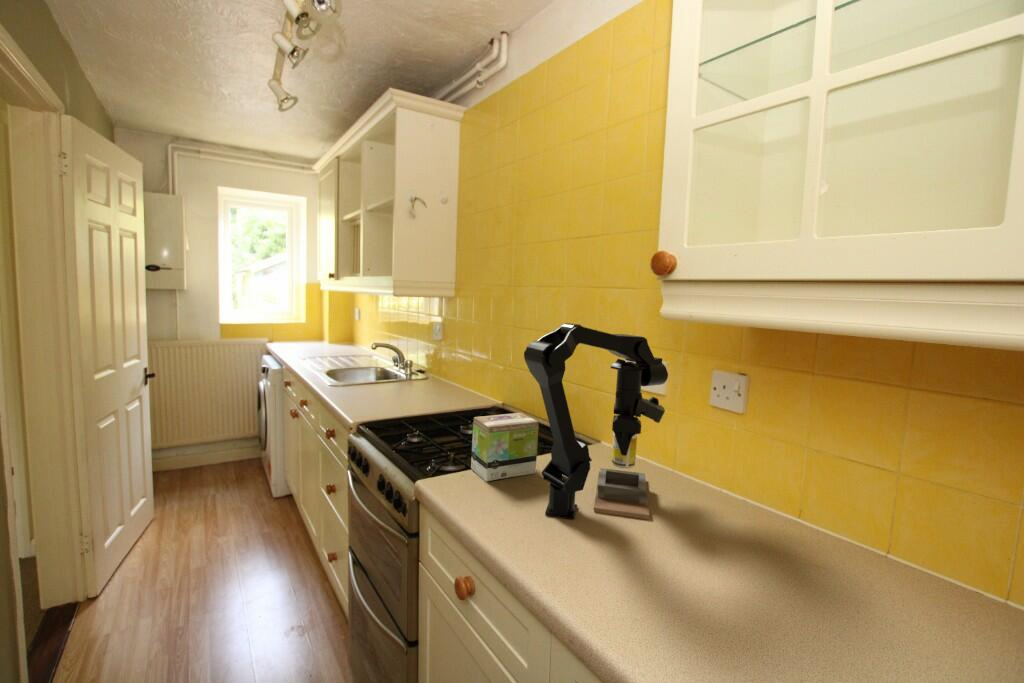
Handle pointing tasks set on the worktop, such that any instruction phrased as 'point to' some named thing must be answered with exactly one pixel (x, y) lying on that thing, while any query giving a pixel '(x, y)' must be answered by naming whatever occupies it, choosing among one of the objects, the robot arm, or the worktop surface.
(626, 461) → the supplement bottle
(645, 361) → the robot arm
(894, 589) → the worktop surface
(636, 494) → the board
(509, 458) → the tea box
